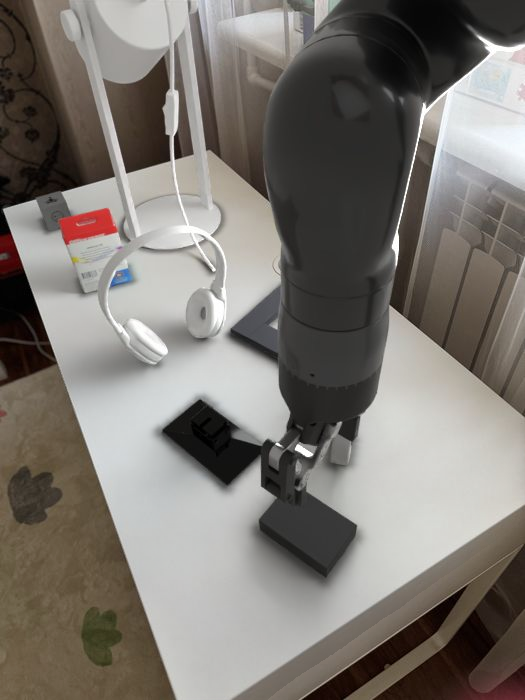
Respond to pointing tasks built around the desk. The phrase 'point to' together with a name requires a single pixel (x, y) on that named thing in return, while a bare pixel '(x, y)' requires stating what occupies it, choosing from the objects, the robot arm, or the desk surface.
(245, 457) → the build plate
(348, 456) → the game controller
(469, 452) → the desk surface
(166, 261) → the desk surface
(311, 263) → the robot arm
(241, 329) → the base pad
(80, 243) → the ink box
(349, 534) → the small pad
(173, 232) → the headphones
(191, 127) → the desk lamp
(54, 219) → the dice cube
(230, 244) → the desk surface
